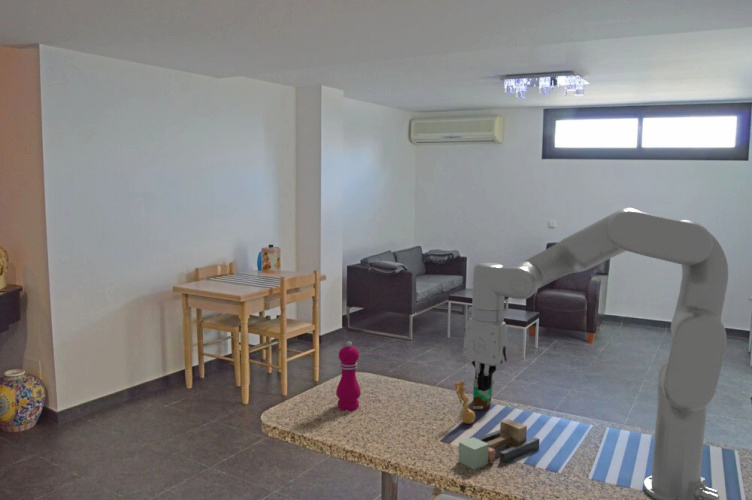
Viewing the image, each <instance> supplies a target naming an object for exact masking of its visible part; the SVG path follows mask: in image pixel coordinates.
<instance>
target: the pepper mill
mask: <svg viewBox="0 0 752 500" xmlns="http://www.w3.org/2000/svg"><path fill="white" fill-rule="evenodd" d="M359 358H360V353H359V350H358V348H356V347H355V346H353V343H352V341H350V340H349V341H346V343H345V346H343V347H341V349H340V350H339V352H338V359H339V361H340V363H339V364H340V366H339V367H340V369H341V377H340V380H339V382H338V385H337V387H336V391H335V394H336V397H337V398H338V401H337V408H338V409H339V410H341V411H345V410H347V411H348V412H350V411H355V410H357V409H358V408H359V407H360V405H359V403H360V401H359V400H358V399H359V398H360V397H361V394H362V393H361V387H360V384H359V383H358V380H357V375H356V371H357V369H358V362H357V361H358V360H359ZM347 411H346V412H347Z"/></svg>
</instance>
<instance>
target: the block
mask: <svg viewBox="0 0 752 500" xmlns="http://www.w3.org/2000/svg"><path fill="white" fill-rule="evenodd" d="M488 452H489V444H487V443H485V442H483V441H481V440H479V439H477V438H476V437H470V438H468V439H465V440H462V441H459V442H458V460H457V461H458V462H459V463H460V464H462V465H464V466H466V467H469V468H470V469H472V470H476V469H478V468H481V467H483V466H487V465H488V464H489V462H488Z"/></svg>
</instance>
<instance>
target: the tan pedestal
mask: <svg viewBox="0 0 752 500" xmlns="http://www.w3.org/2000/svg"><path fill="white" fill-rule="evenodd" d="M527 427H528V425H526V424H523V423H520V422H517V421H514V420H513V419H510V418H507V419H504V420H500V426H499V430H500V437H499V438H496V439H493V440H491V441H488V442H486V443H487V444H489V452H488V464H493V463H494V462H495V458H496V449H499V448H501V447H504V446H507V447H509V448H511V447H514V446H516V445H519V444H521V443H523V442H526V441H527V433H528V431H527V430H528V428H527Z"/></svg>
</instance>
